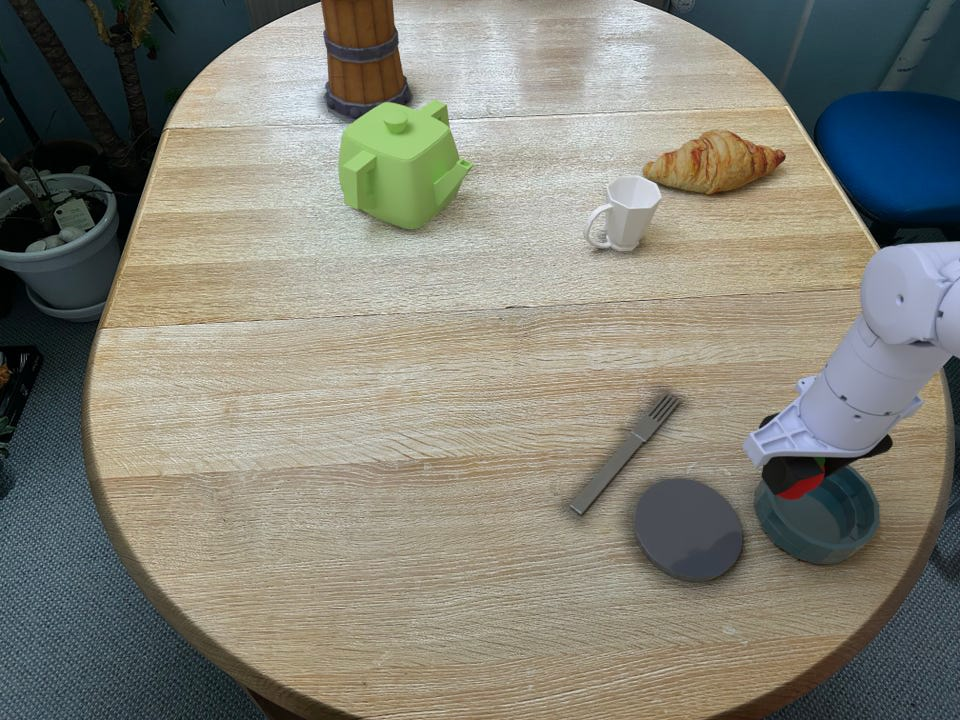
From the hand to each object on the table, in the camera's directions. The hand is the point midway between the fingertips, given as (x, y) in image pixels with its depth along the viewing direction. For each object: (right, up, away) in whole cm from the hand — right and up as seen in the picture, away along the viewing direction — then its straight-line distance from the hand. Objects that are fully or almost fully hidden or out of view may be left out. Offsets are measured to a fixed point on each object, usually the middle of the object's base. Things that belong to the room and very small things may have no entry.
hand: (792, 476), depth 58 cm
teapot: (-36, +31, +36) cm, 60 cm away
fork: (-11, +1, +12) cm, 16 cm away
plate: (-7, -6, +6) cm, 11 cm away
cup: (-9, +25, +31) cm, 41 cm away
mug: (-46, +54, +54) cm, 89 cm away
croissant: (+7, +37, +41) cm, 56 cm away
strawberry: (0, -1, +1) cm, 1 cm away
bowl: (+5, -5, +7) cm, 10 cm away
